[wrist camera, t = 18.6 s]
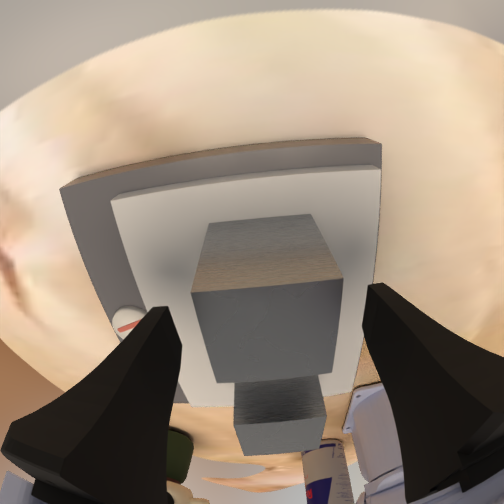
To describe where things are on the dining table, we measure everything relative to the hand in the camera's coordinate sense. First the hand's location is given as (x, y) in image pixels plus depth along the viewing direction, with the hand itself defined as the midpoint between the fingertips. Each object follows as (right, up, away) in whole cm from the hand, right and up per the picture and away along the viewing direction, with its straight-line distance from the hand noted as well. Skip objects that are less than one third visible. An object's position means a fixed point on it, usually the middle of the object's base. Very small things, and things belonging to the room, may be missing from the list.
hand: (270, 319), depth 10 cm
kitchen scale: (-2, 0, +8) cm, 8 cm away
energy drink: (+8, -22, +20) cm, 31 cm away
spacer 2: (+1, -5, +7) cm, 9 cm away
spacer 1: (0, +2, +3) cm, 4 cm away
